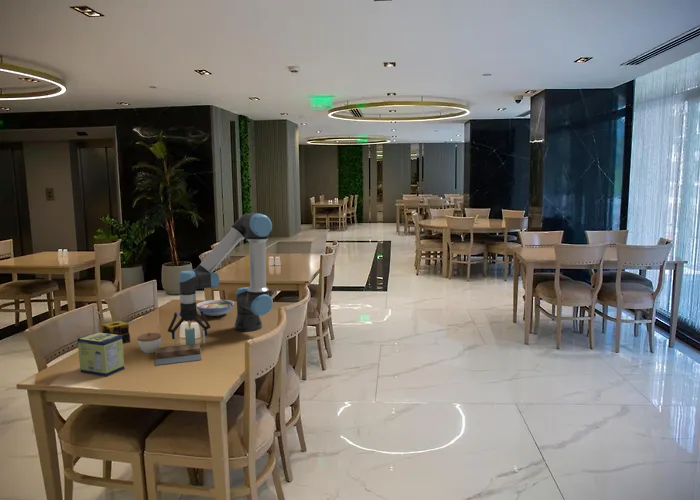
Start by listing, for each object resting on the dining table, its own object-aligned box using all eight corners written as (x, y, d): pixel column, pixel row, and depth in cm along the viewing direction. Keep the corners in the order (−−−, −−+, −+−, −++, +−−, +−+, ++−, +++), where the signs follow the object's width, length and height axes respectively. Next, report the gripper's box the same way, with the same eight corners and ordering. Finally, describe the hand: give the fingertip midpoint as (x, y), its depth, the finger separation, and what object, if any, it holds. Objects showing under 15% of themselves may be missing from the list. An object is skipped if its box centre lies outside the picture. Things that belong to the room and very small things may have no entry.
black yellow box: (130, 342, 273) (129, 323, 272) (111, 347, 266) (109, 327, 265) (122, 338, 280) (120, 320, 279) (102, 343, 273) (101, 324, 272)
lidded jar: (166, 348, 261) (165, 330, 260) (151, 355, 251) (150, 336, 250) (148, 347, 264) (147, 328, 263) (133, 353, 254) (132, 334, 253)
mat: (200, 354, 251) (200, 354, 251) (201, 360, 243) (201, 359, 243) (156, 360, 245) (155, 359, 244) (155, 365, 237) (155, 364, 237)
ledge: (199, 349, 259) (199, 343, 259) (200, 354, 252) (200, 348, 251) (156, 354, 253) (156, 348, 253) (156, 359, 245) (155, 353, 245)
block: (195, 345, 267) (194, 327, 265) (195, 347, 262) (194, 329, 261) (185, 346, 265) (184, 328, 264) (186, 348, 261) (185, 330, 260)
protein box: (98, 364, 240) (96, 331, 238) (125, 368, 234) (122, 334, 232) (79, 372, 230) (76, 338, 228) (106, 377, 224) (103, 341, 222)
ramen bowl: (193, 313, 332) (193, 300, 331) (230, 308, 341) (229, 296, 340) (200, 322, 309) (199, 308, 308) (239, 317, 319) (238, 304, 318)
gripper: (213, 298, 268) (215, 339, 271) (161, 302, 260) (163, 344, 263) (214, 301, 261) (216, 343, 264) (161, 305, 253) (163, 348, 256)
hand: (190, 343), depth 263 cm, fingers open, 13 cm apart
